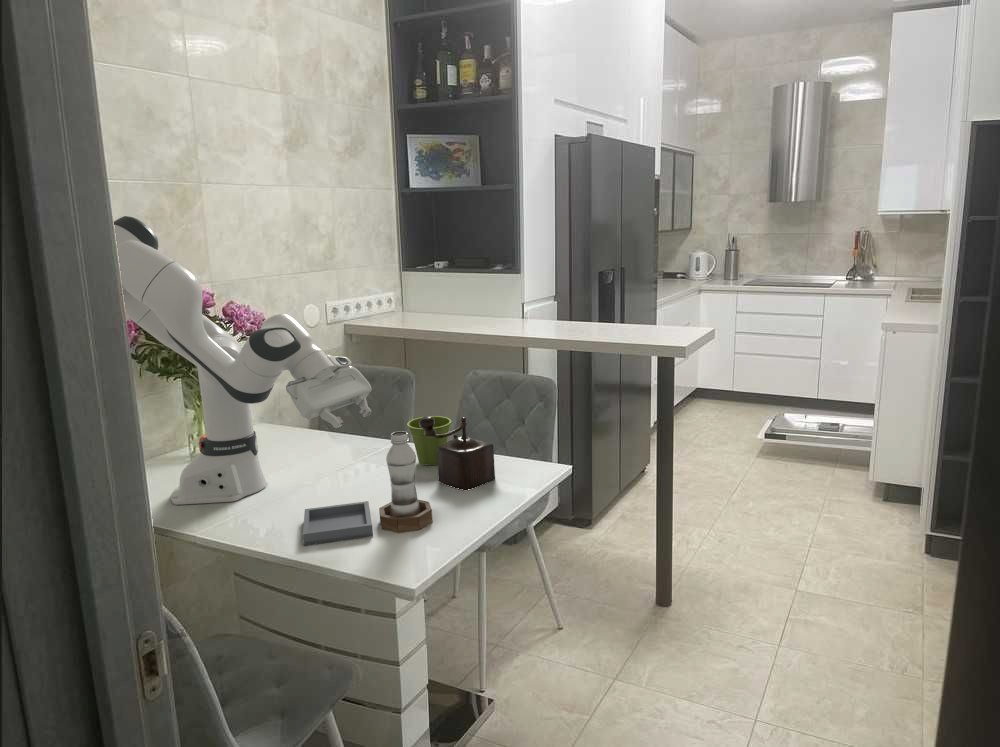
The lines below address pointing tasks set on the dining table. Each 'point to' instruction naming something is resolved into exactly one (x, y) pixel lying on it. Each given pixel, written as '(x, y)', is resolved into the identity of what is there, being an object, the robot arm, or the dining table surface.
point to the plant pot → (428, 439)
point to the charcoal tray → (337, 523)
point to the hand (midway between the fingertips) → (354, 420)
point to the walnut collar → (405, 519)
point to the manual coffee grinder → (462, 457)
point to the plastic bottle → (402, 476)
